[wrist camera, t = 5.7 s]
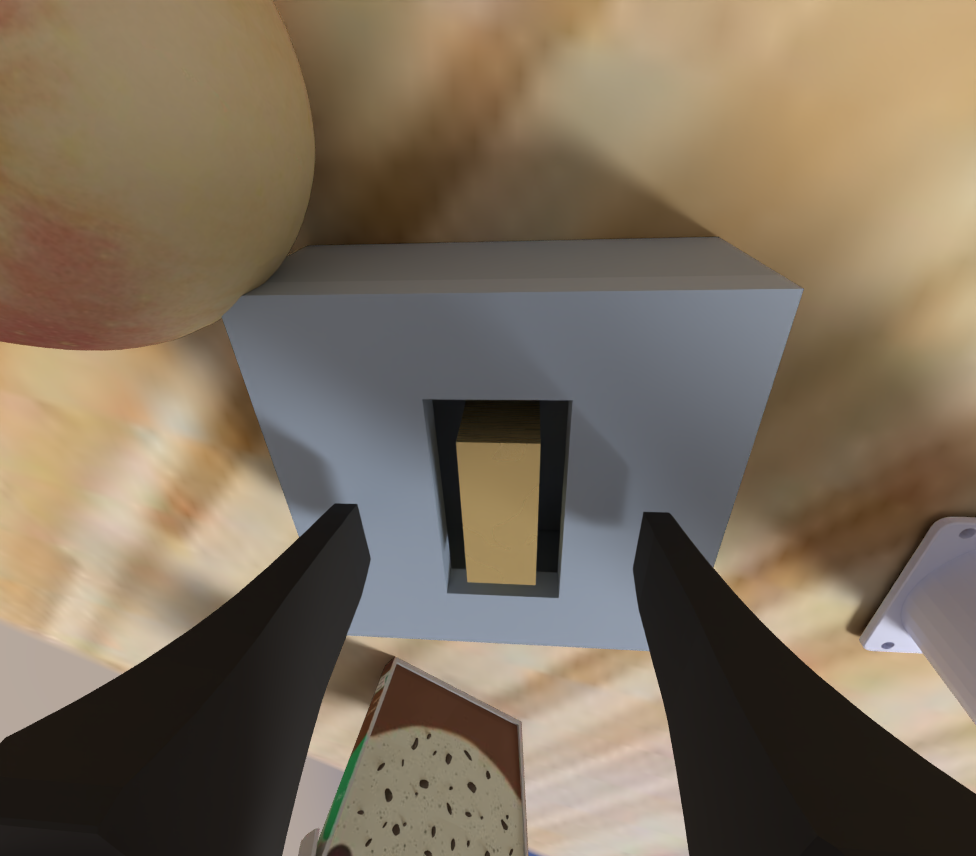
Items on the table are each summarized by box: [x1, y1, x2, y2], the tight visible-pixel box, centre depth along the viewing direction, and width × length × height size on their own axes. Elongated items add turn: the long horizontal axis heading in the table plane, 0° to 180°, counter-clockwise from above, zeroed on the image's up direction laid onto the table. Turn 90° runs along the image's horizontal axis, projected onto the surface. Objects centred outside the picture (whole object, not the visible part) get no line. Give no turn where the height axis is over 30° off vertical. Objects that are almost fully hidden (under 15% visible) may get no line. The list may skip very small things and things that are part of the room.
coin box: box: [222, 237, 804, 651], centre depth 15 cm, size 12×12×5 cm
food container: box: [298, 657, 528, 856], centre depth 25 cm, size 12×6×10 cm, turn 50°
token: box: [456, 400, 541, 585], centre depth 15 cm, size 2×5×5 cm, turn 2°
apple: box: [0, 0, 315, 350], centre depth 9 cm, size 9×9×8 cm
